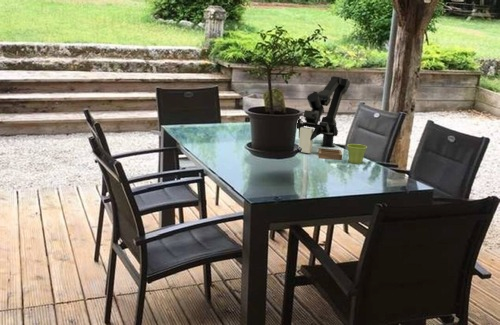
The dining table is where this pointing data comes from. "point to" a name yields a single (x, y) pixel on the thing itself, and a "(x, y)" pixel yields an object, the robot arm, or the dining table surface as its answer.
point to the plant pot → (356, 153)
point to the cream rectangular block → (306, 139)
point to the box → (330, 154)
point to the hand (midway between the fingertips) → (304, 138)
